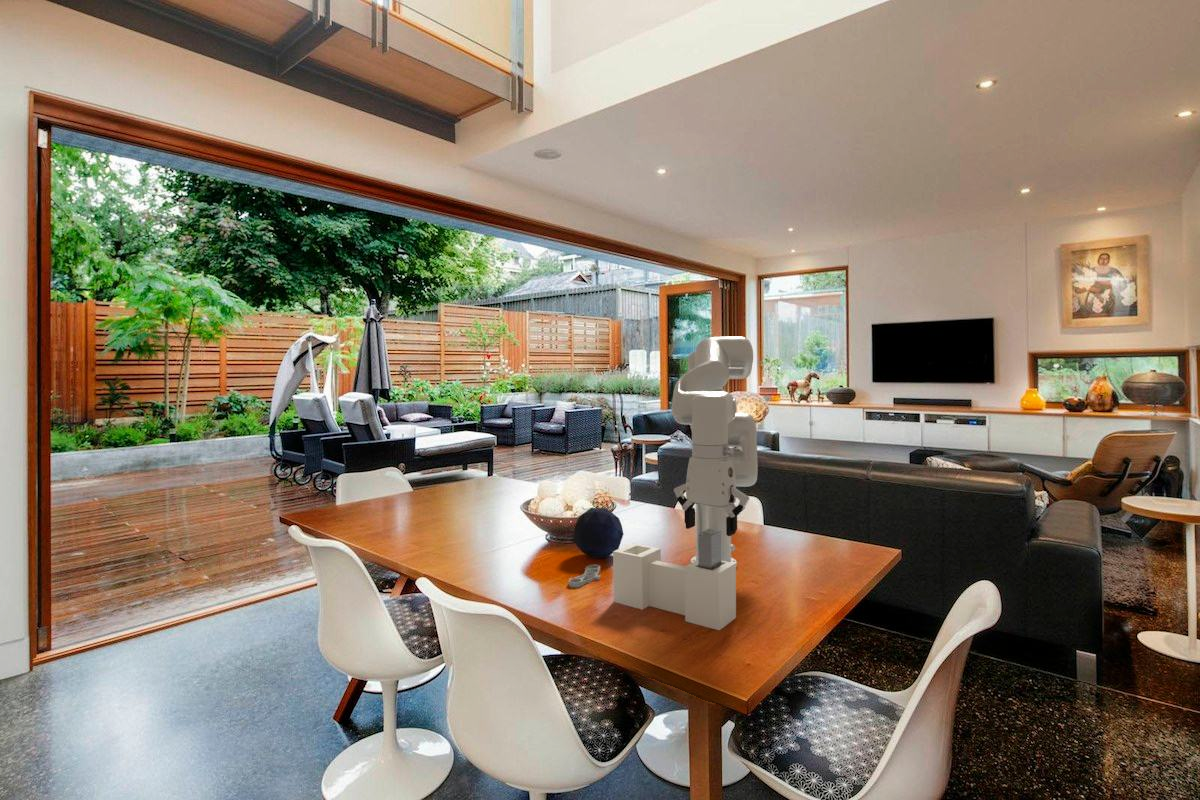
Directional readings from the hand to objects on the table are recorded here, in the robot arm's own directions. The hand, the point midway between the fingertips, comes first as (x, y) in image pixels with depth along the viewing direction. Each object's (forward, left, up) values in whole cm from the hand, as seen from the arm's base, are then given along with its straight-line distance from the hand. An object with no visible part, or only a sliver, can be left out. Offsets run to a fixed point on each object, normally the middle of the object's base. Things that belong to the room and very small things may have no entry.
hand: (710, 530), depth 130 cm
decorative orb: (-22, -47, -20) cm, 55 cm away
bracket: (-5, -38, -20) cm, 44 cm away
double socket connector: (0, -9, -19) cm, 21 cm away
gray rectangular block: (+1, 0, -11) cm, 11 cm away
